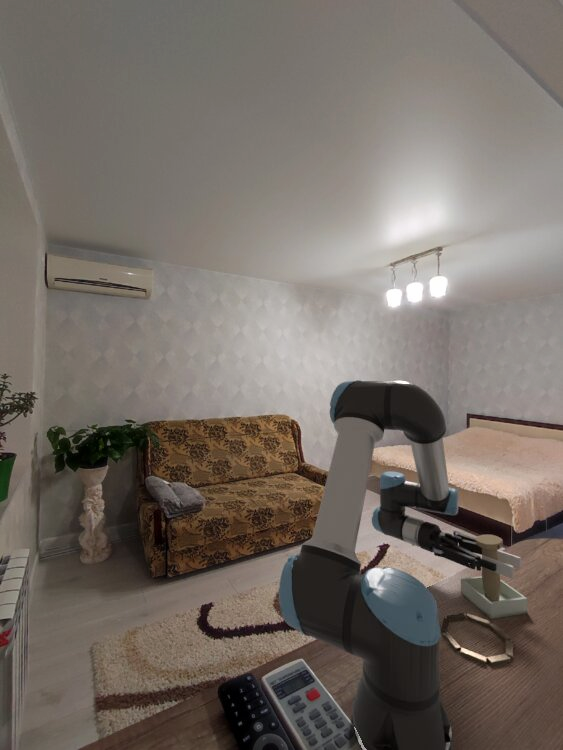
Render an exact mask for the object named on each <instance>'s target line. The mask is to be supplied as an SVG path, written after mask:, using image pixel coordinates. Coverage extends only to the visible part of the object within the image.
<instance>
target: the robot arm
mask: <svg viewBox="0 0 563 750" xmlns="http://www.w3.org/2000/svg"><path fill="white" fill-rule="evenodd" d="M329 406H330V408H329V417H330V420H331V423H332V424H333V428H334V430H335V432H336V433H337V438H336V441H335V446H334V449H333V454H332V456H331V461H330V464H329V468H328V474H327V478H326V480H325V481H326V482H325V485H324V489H323V492H322V497H321V501H320V506H319V509H318V512H317V517H316V520H315V525H314V529H313V533H312V535H311V536H312V537H311V538H310V539H308V540H306V541H304V542H303V543H302V544H301V548H300V551H299V553H295V554H291V555H290V556H289V557H288V558H287V562H285V563H284V566H283V568H282V571H281V575H280V580H279V586H278V587H279V588H278V602H279V603H278V604H279V606H280V607H279V608H280V613H281V616H282V618H283V620H284V622H285V624H287V625H288V626H289V627H291V628H293V629H295V630H297V631H299V632H301V634H302V635H304V636H306V637H312V638H313V639H315V640H318V641H321V642H323V643H325V644H327V645H330V646H332V647H334V648H336V649H338V650H341V651H343V652H346V653H348V654H351V655H353V656H355V657H357V658H360V659H362V673H361V676H360V678H359V682H358V685H357V687H356V691H355V693H354V694H353V695H354V696H353V701H352V709H351V711H352V726H353V725H354V727H355V728H356V730H357V732H358V734H359V736H360V738H361V740H362V743H363V745H364V747H365V748H366V749H367V750H454V737H453V736H454V735H453V730H452V725H451V722H450V718H449V715H448V712H447V709H446V706H445V703H444V701H443V697H442V694H441V692H440V689H441V687H440V685H441V683H440V680H441V679H440V637H441V627H440V622H439V610H438V605H437V602H436V599H435V597H434V596H433V594H432V593H431V591H430V590H429V589H428V588H427V586H426V585H425V584H424V583H423V582H421V581H420V580H419V579H418V578H416V577H414V576H413V575H411V574H410V573H408V572H405V571H403V570H400V569H397V568H393V567H389V566H383V568H381V567H380V566H375V567H372V568H369V569H368V570H366V571H365V572H364V573H360V572H361V567H362V562H361V561H360V560H359V558H358V556H357V554H356V548H357V547H356V546H357V541H358V536H359V531H360V526H361V520H362V515H363V509H364V504H365V499H366V498H365V497H366V493H367V488H368V483H369V479H370V477H369V476H370V472H371V466H372V461H373V454H374V450H375V446H376V445H375V444H376V443H378V442H380V441H381V440H383V438H384V434H385V430H390V431H391V430H392V431H402V432H403V434H404V436H405V438H406V439H407V440H409V442H410V447H411V452H412V456H413V457H412V458H413V460H414V465H415V469H416V475H417V478H418V482H413V481H407V480H406V476H405V475H404V473H402V472H398V471H384V472H383V473H381V474H380V480H379V481H380V482H379V486H378V487H379V501H380V502H379V505H380V506H377V507H376V508H375V509H374V511H373V512H372V516H371V524H372V527H373V529H375V531H377V532H380V533H382V534H384V535H385V536H389V537H392V538H394V539H398V540H399V541H402V542H405V543H408V544H410V545H411V546H416V547H418V548H420V549H423V550H425V551H427V552H430V553H433V555H434V556H435V557H440V558H444V559H445V560H448V561H451V562H454V563H456V564H458V565H462V566H463V567H466V568H468V569H471V570H476V571H479V572H480V571H481V572H482V567H483V568H485V569H488V570H490V571H493V572H496V573H498V574H500V576H503V577H507V578H508V579H511V580H513V579H514V578H515V577H514V576H515V575H514V569H517V570H521V569H522V565H521V564H522V559H521V558H522V557H521V556H518V555H514V554H511V553H508V552H506V551H503V550H501V549H499V550H497V555H498V560H495V559H492V558H489V557H486V556H484V555H483V556H482V548H481V547H479V546H478V545H477V544H476V541H475V539H476V537H474V536H470V535H467V534H464V533H461V532H459V531H458V530H453V533H448V532H442V529H441V528H440V526H439V525H438V524H435V523H432V522H429V521H425V520H423V519H421V518H417V517H414V516H411V515H408V514H406V508H409V509H414V510H421V511H425V512H431V513H438V514H441V515H450V516H456V515H458V513H459V491H458V490H457V489H456V488H454V487H450V485H449V478H448V469H447V463H446V462H447V461H446V453H445V447H444V445H445V444H444V437H445V435H446V432H447V426H446V420H445V416H444V414H443V411H442V409H441V407H440V405H439V404H438V403H437V402H436V400H435V399H434V398H433V397H432V396H431V395H430V393H428V392H427V391H425V390H424V389H423V388H421V387H420V386H418V385H417V384H415V383H413V382H412V383H411V382H410V381H405V380H366V381H365V380H364V381H363V380H358V379H355V380H352V381H351V380H349V381H343V382H341V383H339V384H338V385H337V386H336V387H335V389H334V390H333V392H332V395H331V398H330V402H329ZM480 555H481V556H480Z"/></svg>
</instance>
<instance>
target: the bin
mask: <svg viewBox="0 0 563 750" xmlns="http://www.w3.org/2000/svg"><path fill="white" fill-rule="evenodd" d="M460 593H461V594H462V595H463V596H465V597H466V598H467V599H468V600H469V601H470V602H471V603H472V604H473V605H475V606H476V607H477V608H478V609H479V610H480V611H481V612H483V613H484V614H485V615H486V616H487V617H488V618H490V619H491V620H493V619H499V618H505V617H512V616H519V615H523V614H528V598H527V597H526V596H524V595H523V594H522V593H520V592H519V591H518V590H516V589H515V588H514V587H512V586H511V585H509V584H507V583H506V582H505V581H504V580H502V579H501V578H500V598H499V601H494V602H491V601H489V600H488V599H487V598H486V597H485V595H484V594H485V592H484V588H483V582H482V575H480V576H473V577H471V576H470V577H466V578H460Z"/></svg>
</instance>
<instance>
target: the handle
mask: <svg viewBox="0 0 563 750" xmlns="http://www.w3.org/2000/svg"><path fill="white" fill-rule="evenodd" d="M475 538H476V539H475V541H476V544H477V545H478V546H479V547H481V548H482V555H481V557H482V556H483V555H484V556H486V557H489V558H492V559H495V560H498V555H497V550H501V548H502V547H503V545H504V541H503V539H502V537H499V536H497V535H494V534H480V535H477V536H476V537H475ZM481 576H482V582H483V588H484V592H485V594H484V595H485V597H486V598H487V599H488V600H489V601H491V602H494V601H499V598H500V579H501V574H498V573H496V572H493V571H490V570H488V569H485V568H483V567H481Z"/></svg>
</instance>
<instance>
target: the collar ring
mask: <svg viewBox="0 0 563 750" xmlns="http://www.w3.org/2000/svg"><path fill="white" fill-rule="evenodd" d="M445 616H446V617H445ZM445 616H444V617H443V619H442V622H441V627H440V634H441V636H442V638H443V639H444V640H445V641H446V642H447V643H448V645H449V646H450V647H451V648H452V649H453V650H454V651H455V653H457V652H460V656H462V657H463V658H467V659H469V660H471V661H474V662H476V663H479V664H481V665H484V666H487V663H488V664H489V665H490V667H494V666H501V665H504V664H505V665H506V664H511V661H514V645H513V644H514V642H513V641H512V639H511V637H510V636H509V635H507V633H505V632H504V631H503V630H502V629H501V628H499V627H498V625H497V624H496V623H490V620H488V619H485V618H482V617H479V616H477V615H473V614H470V613H467V615H466V614H465V613H464V612H459V613H455V614H454V613H453V614H448V615H445ZM461 621H469V622H472V623H474V624H478V625H480V626H484V627H487V628H489V629H490V630H491V631H492V632H493V633H495V634H496V635H497V637H499V638H500V639H501V640H502V641H503V642H504V643H505V653H501V654H496V655H491V656H484V655H482V654H479V653H477V652H474V651H472V650H469V649H467V648H464V647H462V646H460V644H459V643H458V642H457V641H456V640H455V638H453V636H451V634H450V633H449V632H448V631H449V627H450V623H451V624H452V623H456V622H461Z"/></svg>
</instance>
